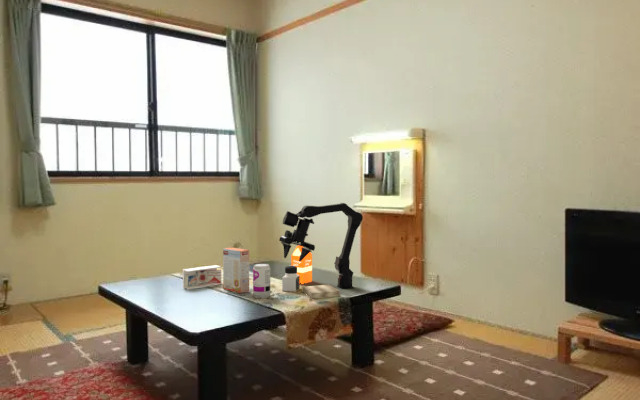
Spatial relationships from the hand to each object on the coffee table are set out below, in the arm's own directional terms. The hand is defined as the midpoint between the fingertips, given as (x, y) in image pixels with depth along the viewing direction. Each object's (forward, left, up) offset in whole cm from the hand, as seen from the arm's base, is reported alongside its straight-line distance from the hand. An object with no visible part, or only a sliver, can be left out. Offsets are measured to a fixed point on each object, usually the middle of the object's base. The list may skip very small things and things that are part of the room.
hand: (292, 259), depth 246 cm
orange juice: (-11, -17, -16) cm, 25 cm away
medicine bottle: (0, -1, -16) cm, 16 cm away
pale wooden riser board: (-11, +12, -15) cm, 22 cm away
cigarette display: (+40, -26, -16) cm, 50 cm away
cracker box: (+26, -9, -16) cm, 32 cm away
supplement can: (+17, +7, -16) cm, 24 cm away
